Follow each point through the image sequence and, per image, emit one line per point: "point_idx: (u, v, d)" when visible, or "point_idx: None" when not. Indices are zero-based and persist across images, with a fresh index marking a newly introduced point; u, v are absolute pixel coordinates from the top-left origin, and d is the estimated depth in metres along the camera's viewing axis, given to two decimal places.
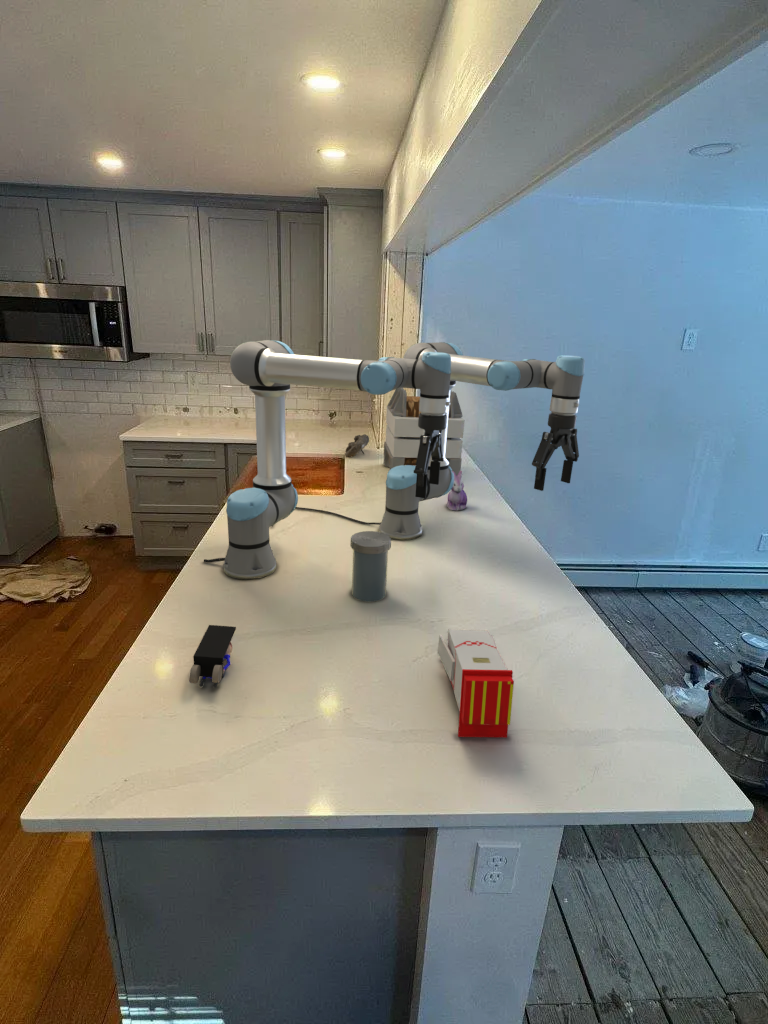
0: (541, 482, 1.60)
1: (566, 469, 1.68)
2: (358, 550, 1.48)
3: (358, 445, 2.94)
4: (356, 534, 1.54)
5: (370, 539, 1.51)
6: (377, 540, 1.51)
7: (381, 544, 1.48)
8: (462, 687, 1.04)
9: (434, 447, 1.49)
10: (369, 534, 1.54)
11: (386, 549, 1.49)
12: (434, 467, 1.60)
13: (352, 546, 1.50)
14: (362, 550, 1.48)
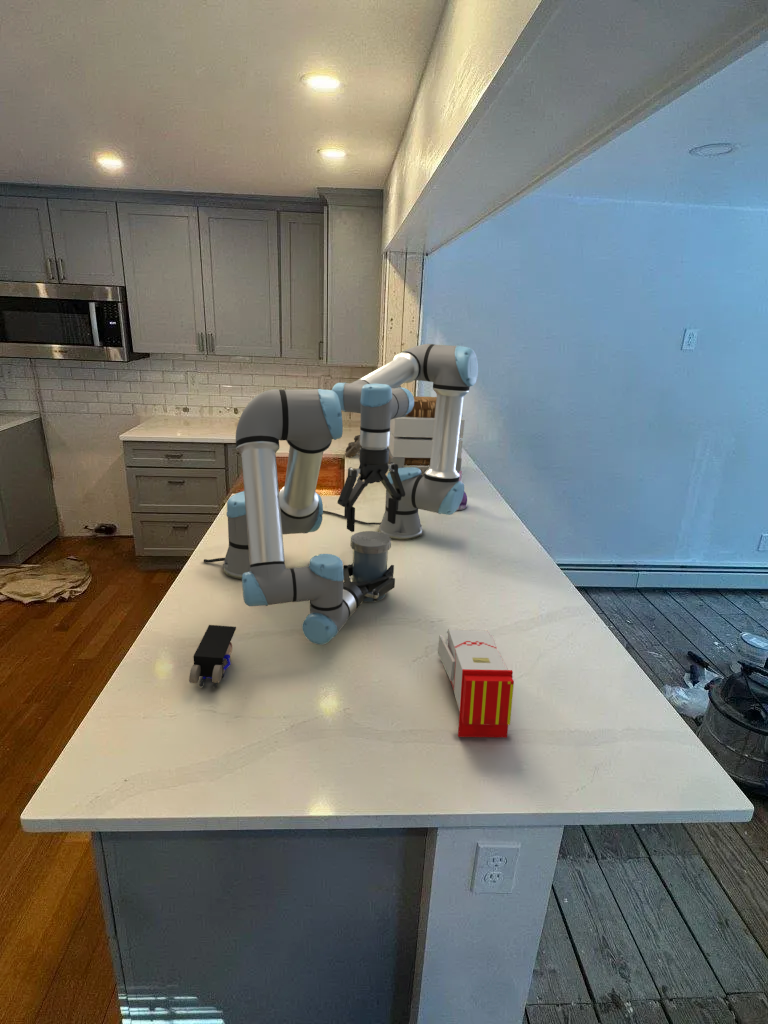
0: None
1: None
2: (358, 550, 1.48)
3: (358, 445, 2.94)
4: (356, 534, 1.54)
5: (370, 539, 1.51)
6: (377, 540, 1.51)
7: (381, 544, 1.48)
8: (462, 687, 1.04)
9: None
10: (369, 534, 1.54)
11: (386, 549, 1.49)
12: None
13: (352, 546, 1.50)
14: (362, 550, 1.48)
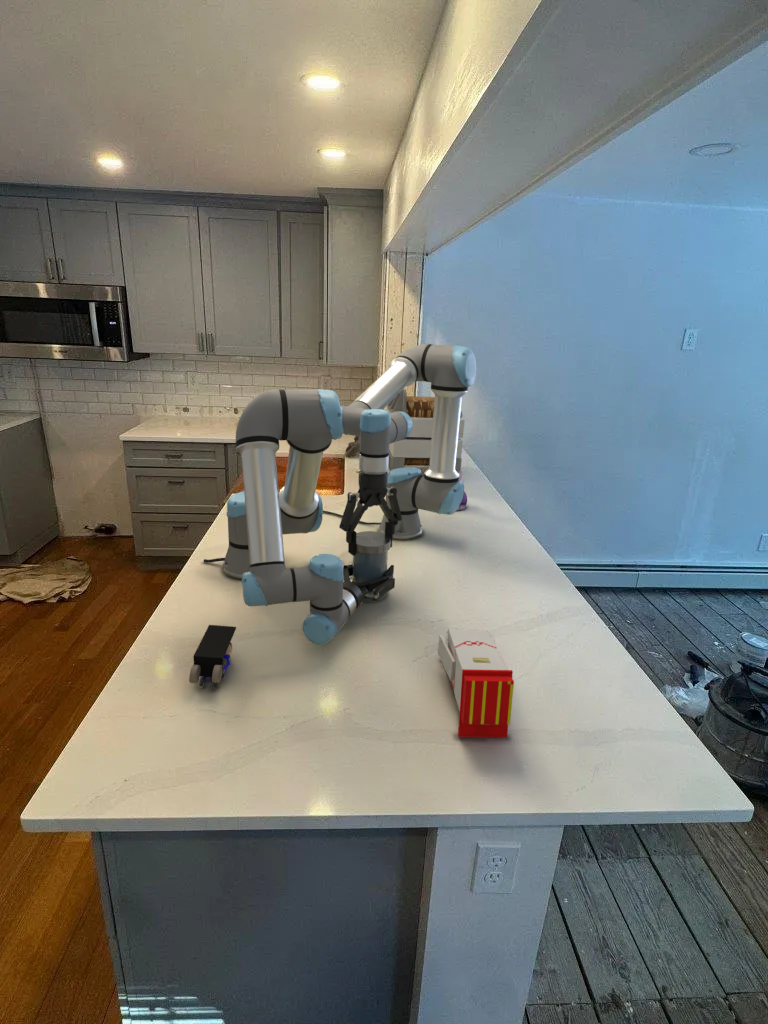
0: None
1: None
2: (358, 550, 1.48)
3: (358, 445, 2.94)
4: (356, 534, 1.54)
5: (370, 539, 1.51)
6: (377, 540, 1.51)
7: (381, 544, 1.48)
8: (462, 687, 1.04)
9: None
10: (369, 534, 1.54)
11: (386, 549, 1.49)
12: None
13: None
14: (362, 550, 1.47)
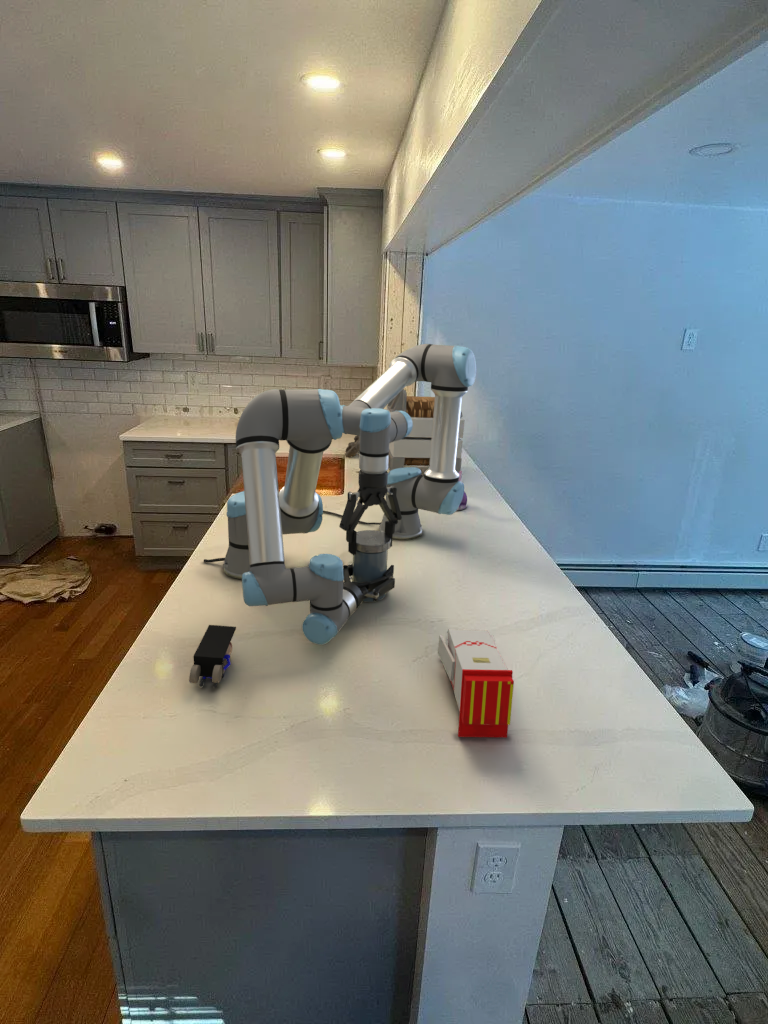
0: None
1: None
2: (388, 547, 1.50)
3: (358, 445, 2.94)
4: (362, 543, 1.48)
5: (373, 537, 1.52)
6: (374, 535, 1.53)
7: (383, 533, 1.55)
8: (462, 687, 1.04)
9: None
10: (360, 538, 1.51)
11: None
12: None
13: (381, 549, 1.48)
14: (390, 545, 1.51)
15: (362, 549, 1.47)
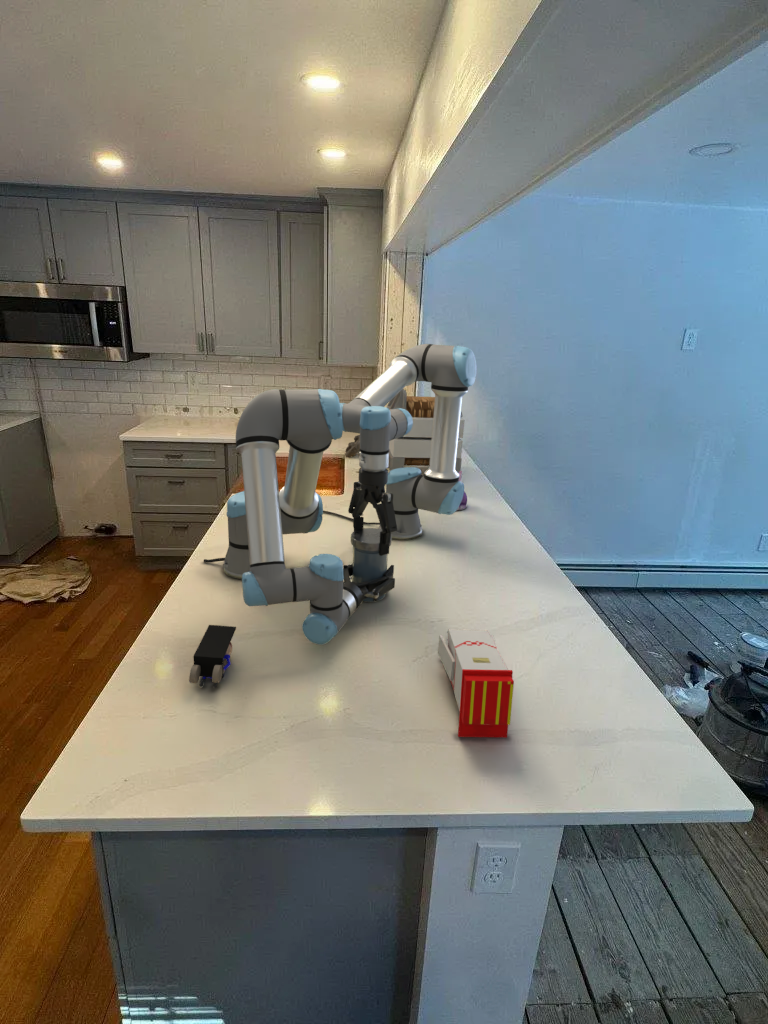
0: None
1: None
2: None
3: (358, 445, 2.94)
4: None
5: (371, 534, 1.52)
6: (364, 534, 1.52)
7: (358, 530, 1.55)
8: (462, 687, 1.04)
9: None
10: (374, 539, 1.49)
11: None
12: None
13: None
14: None
15: (390, 543, 1.51)
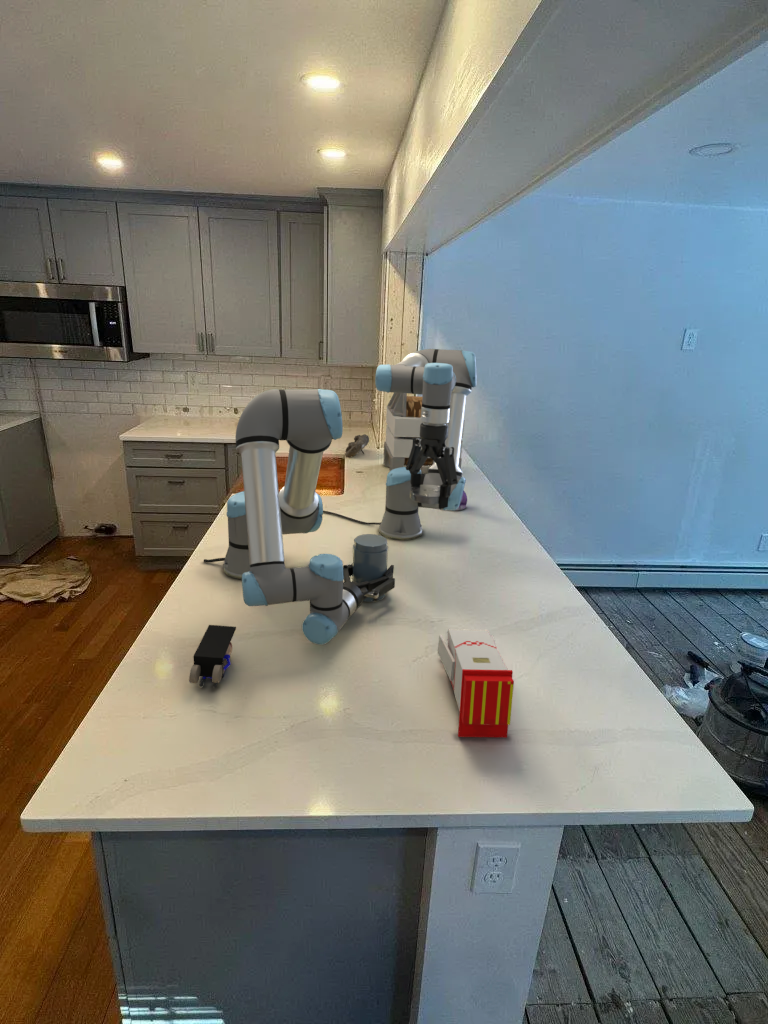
0: None
1: None
2: None
3: (358, 445, 2.94)
4: None
5: (429, 489, 1.57)
6: (422, 489, 1.58)
7: (416, 486, 1.60)
8: (462, 687, 1.04)
9: None
10: (433, 493, 1.54)
11: None
12: None
13: None
14: None
15: (448, 497, 1.56)
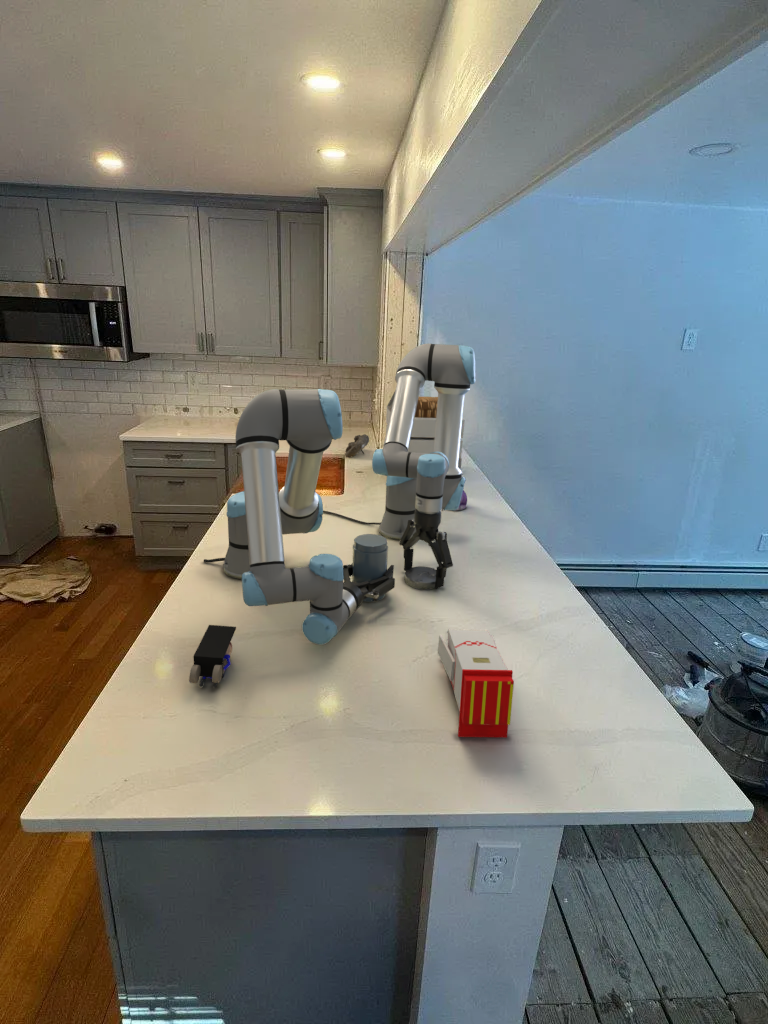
0: None
1: None
2: None
3: (358, 445, 2.94)
4: None
5: (423, 573, 1.66)
6: (416, 572, 1.66)
7: (410, 569, 1.68)
8: (462, 687, 1.04)
9: None
10: (427, 578, 1.63)
11: None
12: None
13: None
14: None
15: None
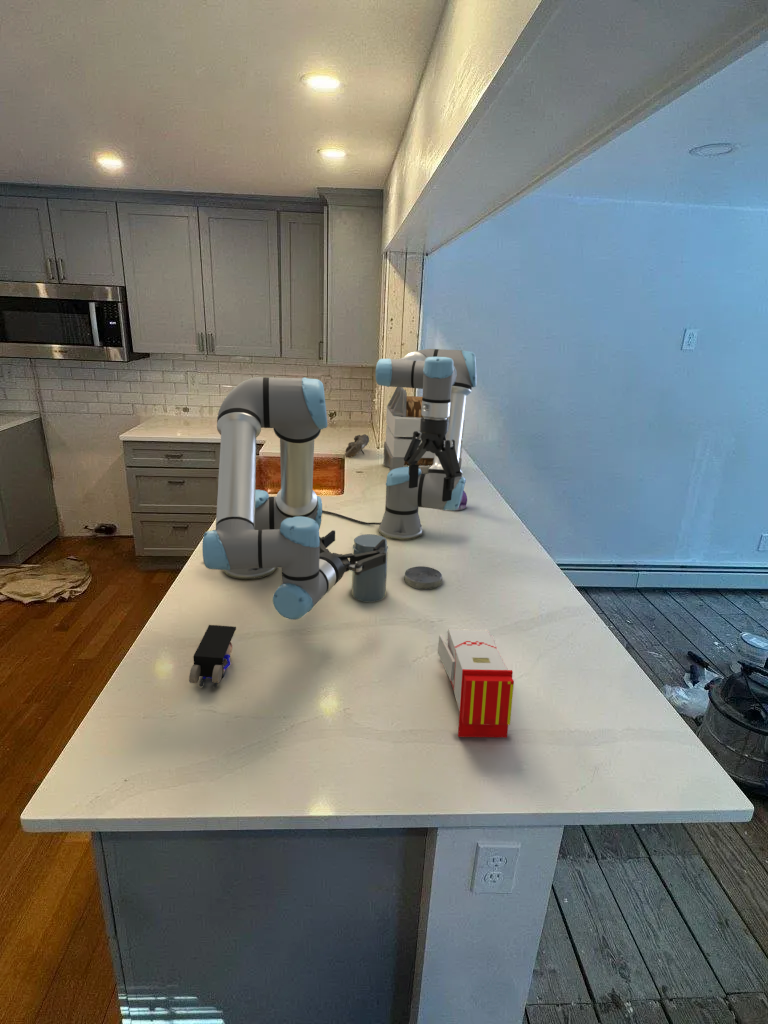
0: None
1: None
2: None
3: (358, 445, 2.94)
4: (438, 577, 1.64)
5: (423, 573, 1.66)
6: (416, 572, 1.66)
7: (410, 569, 1.68)
8: (462, 687, 1.04)
9: None
10: (427, 578, 1.63)
11: None
12: None
13: None
14: None
15: None
